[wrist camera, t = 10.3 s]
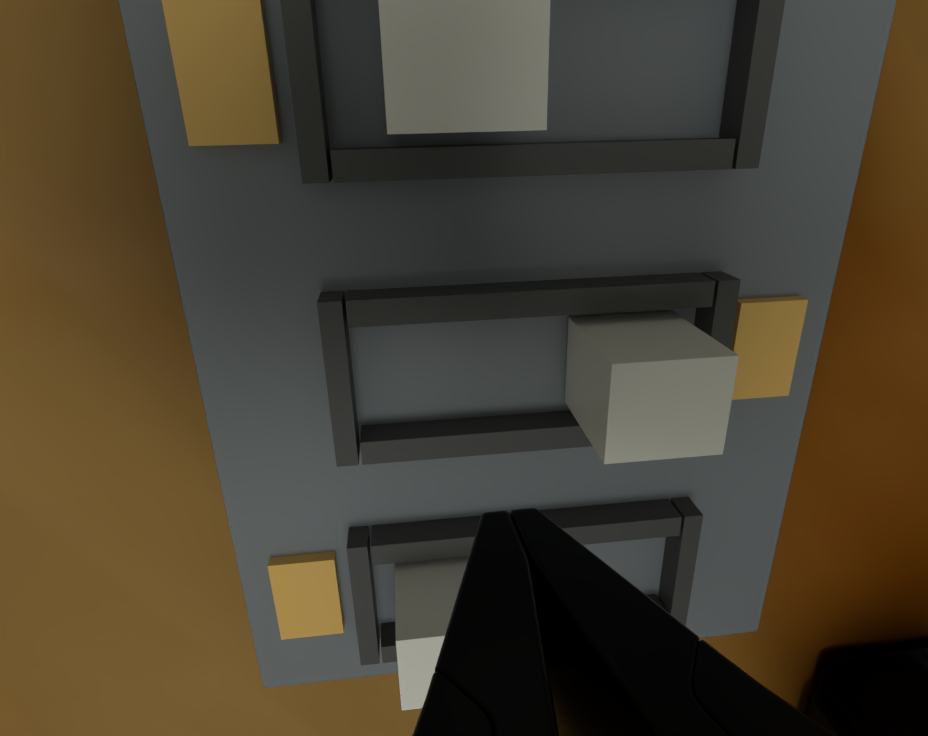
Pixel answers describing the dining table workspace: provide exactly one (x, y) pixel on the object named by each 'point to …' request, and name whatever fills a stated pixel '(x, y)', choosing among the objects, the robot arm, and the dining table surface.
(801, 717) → the robot arm
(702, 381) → the slider
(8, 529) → the dining table surface
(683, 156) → the switch unit
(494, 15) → the slider
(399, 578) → the slider
